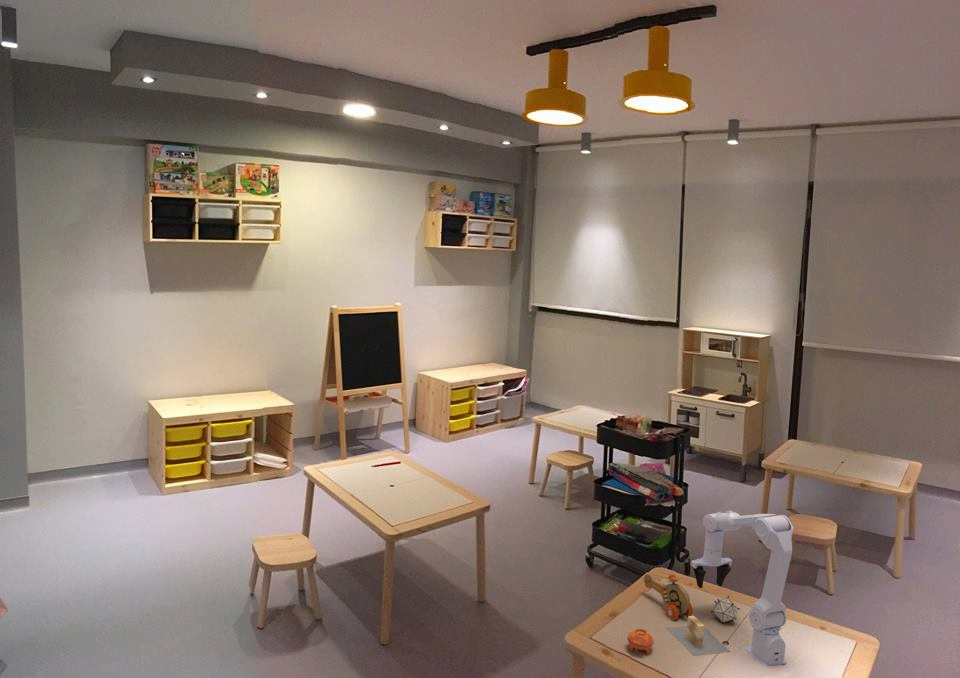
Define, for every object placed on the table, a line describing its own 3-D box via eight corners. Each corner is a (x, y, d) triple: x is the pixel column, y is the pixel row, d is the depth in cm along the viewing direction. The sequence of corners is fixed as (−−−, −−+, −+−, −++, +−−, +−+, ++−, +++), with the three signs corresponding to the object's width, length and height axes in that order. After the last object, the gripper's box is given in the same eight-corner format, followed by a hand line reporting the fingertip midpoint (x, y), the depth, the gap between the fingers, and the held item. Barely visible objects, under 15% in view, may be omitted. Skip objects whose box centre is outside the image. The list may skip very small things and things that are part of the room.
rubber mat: (730, 653, 215) (730, 651, 215) (693, 657, 212) (693, 656, 212) (701, 625, 231) (701, 624, 230) (666, 629, 227) (666, 627, 227)
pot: (635, 658, 209) (634, 635, 210) (623, 650, 216) (622, 627, 217) (659, 655, 211) (658, 632, 212) (646, 646, 219) (645, 624, 219)
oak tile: (702, 646, 217) (704, 625, 216) (696, 647, 216) (698, 626, 216) (691, 636, 223) (694, 615, 222) (686, 636, 222) (688, 616, 221)
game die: (729, 633, 233) (746, 620, 227) (706, 624, 233) (722, 610, 227) (727, 610, 240) (744, 596, 234) (705, 600, 240) (721, 586, 234)
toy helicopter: (676, 624, 230) (680, 585, 228) (635, 595, 248) (638, 559, 247) (694, 619, 234) (698, 581, 232) (652, 591, 252) (656, 555, 250)
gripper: (724, 541, 241) (720, 578, 243) (687, 544, 237) (684, 581, 239) (737, 550, 234) (733, 588, 236) (699, 553, 231) (695, 591, 232)
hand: (709, 585), depth 237 cm, fingers open, 7 cm apart
